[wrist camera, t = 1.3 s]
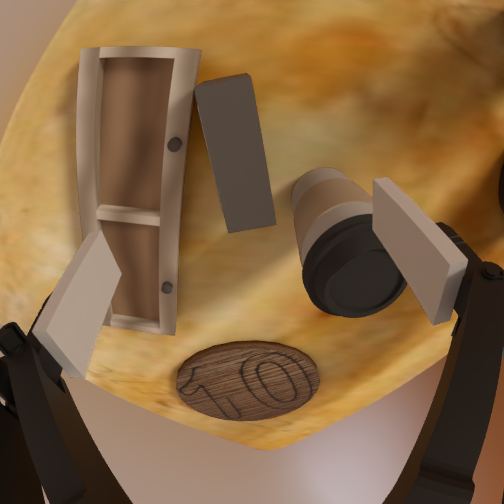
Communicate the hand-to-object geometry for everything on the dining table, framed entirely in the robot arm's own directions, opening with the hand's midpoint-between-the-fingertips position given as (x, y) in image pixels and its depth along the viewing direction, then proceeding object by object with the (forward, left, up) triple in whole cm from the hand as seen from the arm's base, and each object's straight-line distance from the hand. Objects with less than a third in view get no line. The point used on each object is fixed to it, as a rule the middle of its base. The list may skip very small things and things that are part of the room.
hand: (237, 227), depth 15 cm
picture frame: (0, 0, -18) cm, 18 cm away
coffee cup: (-10, +5, -18) cm, 21 cm away
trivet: (-8, +41, -19) cm, 46 cm away
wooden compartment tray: (+10, +9, -18) cm, 22 cm away
